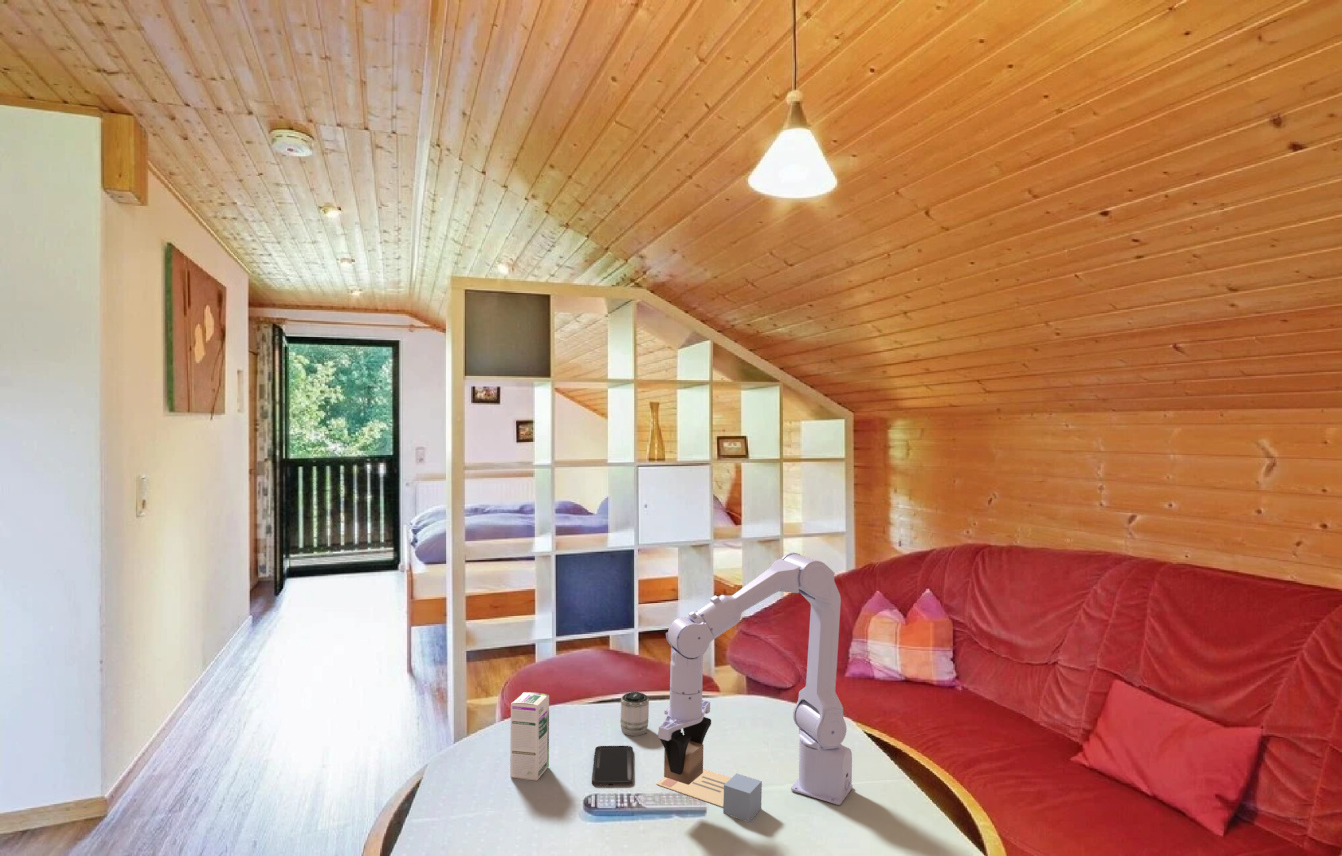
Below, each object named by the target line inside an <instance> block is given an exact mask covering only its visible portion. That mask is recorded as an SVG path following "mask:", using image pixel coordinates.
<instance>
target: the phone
mask: <svg viewBox="0 0 1342 856" xmlns="http://www.w3.org/2000/svg"><path fill="white" fill-rule="evenodd" d="M633 751H634V749H633V747H632V746H631V745H598V746H596V747H595V749H594V755H593V765H592V773H591V785H592V786H594V787H629V786H632V785H633V783H634V781H633V780H634V778H633V777H634V770H633V769H634V767H633V766H634V762H633V760H634V759H633V758H634V757H633V756H634V752H633Z"/></svg>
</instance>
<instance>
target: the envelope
mask: <svg viewBox="0 0 1342 856" xmlns="http://www.w3.org/2000/svg"><path fill="white" fill-rule="evenodd" d="M731 778H732V777H730V776H728V775H727V776H726V775H724V774H721V773H717V772H715V771H710V770H709V769H704V768H703V773H702V774H701V775H700V776H699V777H698V778H696V779H695V780H694V781H693V782H692V783H690V784H689V785H687V784H684V783H681V782H678V781H675V780H672V779H669V778H666V777H663V778H662V779H661V780H660V781H658V782H657V783H656V784H655V785H656V786H660V787H662V788H665V789H669V790H671V791H674V792H677V793H680V794H683V795H685V796H689V797H691V798H694V799H698V800H701V801H703V802H706V803H708V804H711V805H714V806H717V807H721V808H723V802H724V784H726V783H727V782H728V781H729V780H730V779H731Z"/></svg>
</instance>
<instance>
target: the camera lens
mask: <svg viewBox="0 0 1342 856" xmlns="http://www.w3.org/2000/svg"><path fill="white" fill-rule="evenodd" d="M649 705H650V699H649V697H648V696H647V695H646V694H645V693H642V692H639V691H630V692H627V693H626V694H623V695H622V697H621V698H620V720H619V721H620V722H619V723H620V729H621V733H622V734H625V735H627V736H632V737H638V736H642V735H644V734H646V733H647V731H648V727H649V708H650V706H649Z"/></svg>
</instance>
